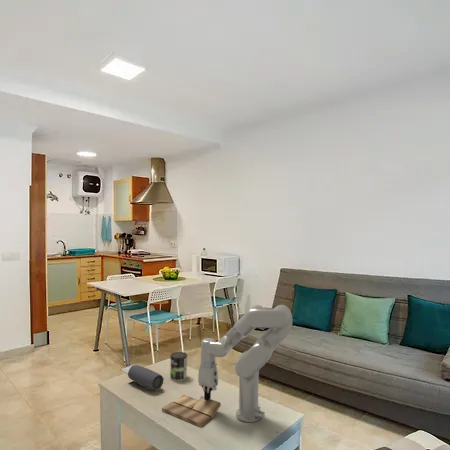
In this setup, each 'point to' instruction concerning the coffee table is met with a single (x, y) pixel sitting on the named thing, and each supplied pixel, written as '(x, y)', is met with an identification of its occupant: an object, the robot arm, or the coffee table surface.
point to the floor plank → (186, 414)
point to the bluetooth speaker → (145, 377)
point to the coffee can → (178, 366)
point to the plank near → (206, 407)
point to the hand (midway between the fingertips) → (207, 399)
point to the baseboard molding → (128, 369)
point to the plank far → (186, 401)
